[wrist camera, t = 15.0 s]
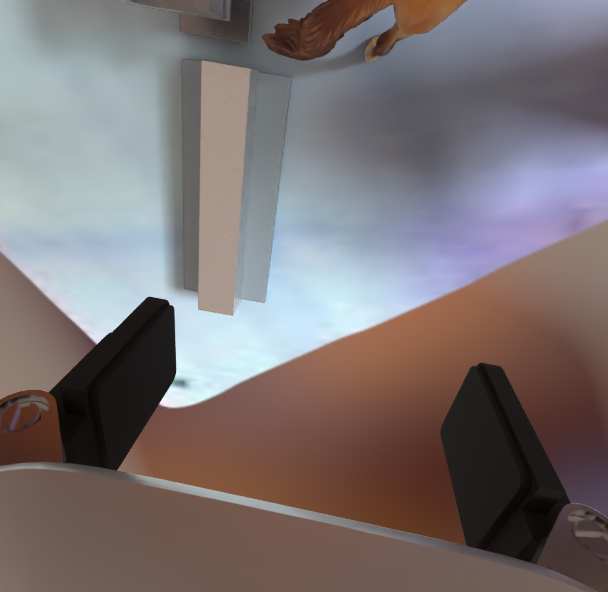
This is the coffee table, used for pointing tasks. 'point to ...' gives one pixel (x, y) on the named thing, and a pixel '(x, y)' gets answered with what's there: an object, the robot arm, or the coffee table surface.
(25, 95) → the coffee table surface
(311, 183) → the coffee table surface
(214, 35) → the post
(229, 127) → the rail
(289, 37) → the horse figurine
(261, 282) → the mat
